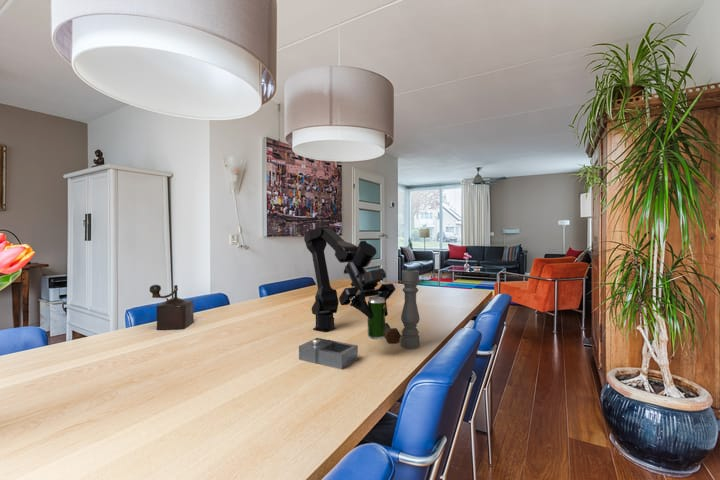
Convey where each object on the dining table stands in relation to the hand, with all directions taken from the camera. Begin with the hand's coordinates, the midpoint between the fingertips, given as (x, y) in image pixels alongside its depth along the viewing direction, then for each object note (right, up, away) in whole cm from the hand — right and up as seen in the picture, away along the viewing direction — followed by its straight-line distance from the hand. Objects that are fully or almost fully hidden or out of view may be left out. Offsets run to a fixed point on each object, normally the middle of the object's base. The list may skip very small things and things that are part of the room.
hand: (379, 316), depth 104 cm
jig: (-15, -12, -2) cm, 20 cm away
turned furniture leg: (+11, -12, +10) cm, 19 cm away
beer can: (-1, -7, +1) cm, 7 cm away
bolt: (+4, -12, +20) cm, 23 cm away
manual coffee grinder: (-80, -12, +31) cm, 86 cm away
